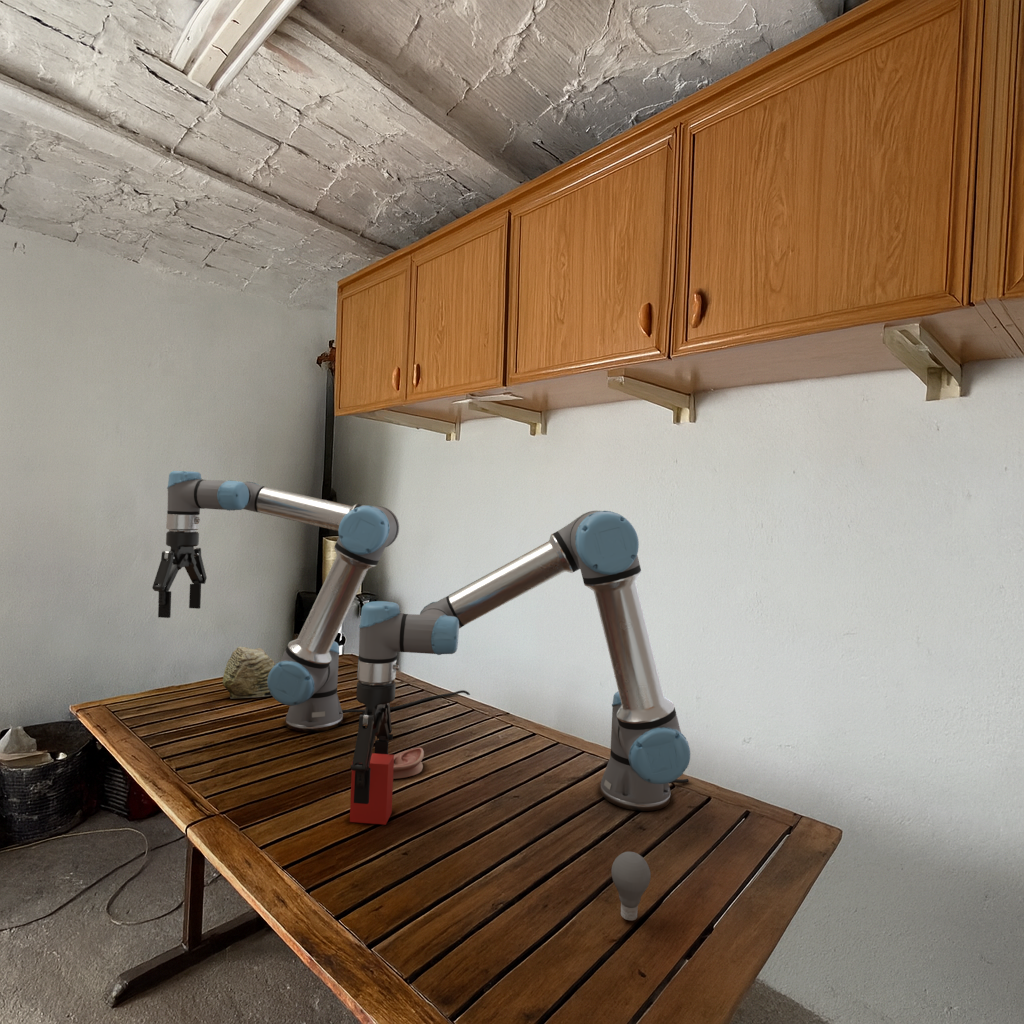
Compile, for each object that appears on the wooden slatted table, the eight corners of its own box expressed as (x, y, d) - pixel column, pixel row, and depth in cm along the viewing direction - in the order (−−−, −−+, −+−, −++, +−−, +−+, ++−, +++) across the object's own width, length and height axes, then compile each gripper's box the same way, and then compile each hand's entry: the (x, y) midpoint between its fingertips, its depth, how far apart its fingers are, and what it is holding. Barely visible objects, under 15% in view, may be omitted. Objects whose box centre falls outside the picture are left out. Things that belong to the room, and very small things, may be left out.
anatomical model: (356, 758, 144) (377, 740, 155) (356, 775, 144) (376, 756, 155) (412, 766, 141) (429, 746, 152) (411, 783, 141) (428, 763, 153)
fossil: (218, 695, 195) (220, 647, 195) (278, 685, 208) (279, 640, 207) (228, 703, 189) (230, 653, 188) (289, 692, 201) (290, 645, 201)
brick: (349, 822, 124) (351, 761, 124) (356, 810, 129) (359, 752, 129) (385, 824, 124) (388, 764, 123) (391, 812, 128) (394, 754, 128)
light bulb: (605, 905, 101) (608, 843, 101) (642, 905, 102) (645, 843, 102) (614, 931, 95) (617, 865, 95) (653, 930, 96) (656, 865, 96)
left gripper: (168, 533, 151) (165, 622, 151) (221, 529, 176) (219, 605, 176) (137, 532, 151) (134, 620, 152) (195, 528, 176) (192, 604, 177)
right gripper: (378, 701, 113) (372, 819, 113) (409, 665, 138) (404, 762, 138) (337, 698, 113) (331, 815, 114) (375, 663, 138) (370, 759, 139)
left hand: (180, 612), depth 164 cm, fingers open, 13 cm apart
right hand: (371, 786), depth 126 cm, fingers open, 13 cm apart
